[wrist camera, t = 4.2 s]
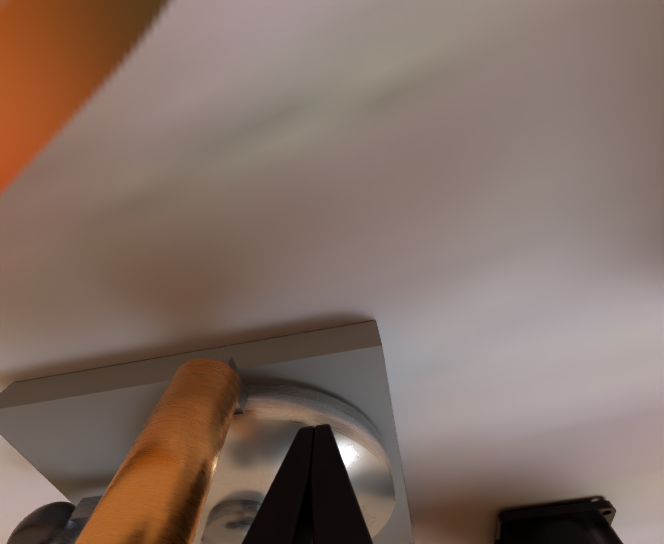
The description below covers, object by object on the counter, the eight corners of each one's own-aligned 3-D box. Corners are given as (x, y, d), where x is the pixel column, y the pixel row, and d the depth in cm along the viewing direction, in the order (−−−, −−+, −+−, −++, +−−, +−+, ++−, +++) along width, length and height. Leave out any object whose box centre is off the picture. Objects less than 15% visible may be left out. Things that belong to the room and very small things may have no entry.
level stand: (375, 320, 12) (383, 353, 11) (410, 526, 19) (418, 565, 18) (12, 383, 13) (-34, 421, 12) (169, 555, 21) (155, 594, 19)
